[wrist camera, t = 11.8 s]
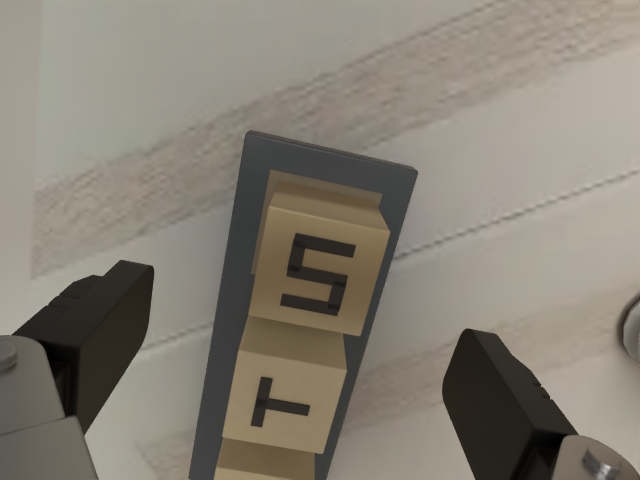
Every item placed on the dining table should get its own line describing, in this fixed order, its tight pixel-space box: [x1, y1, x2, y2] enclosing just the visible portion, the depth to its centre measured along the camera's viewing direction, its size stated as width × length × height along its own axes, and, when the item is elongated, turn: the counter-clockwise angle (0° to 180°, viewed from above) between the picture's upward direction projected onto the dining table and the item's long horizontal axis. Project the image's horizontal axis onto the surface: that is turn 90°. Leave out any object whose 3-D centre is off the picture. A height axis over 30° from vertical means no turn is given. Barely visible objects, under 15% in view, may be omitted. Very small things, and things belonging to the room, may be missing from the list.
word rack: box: [189, 130, 418, 480], centre depth 19 cm, size 18×7×5 cm, turn 167°
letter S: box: [248, 181, 390, 336], centre depth 17 cm, size 4×4×4 cm
